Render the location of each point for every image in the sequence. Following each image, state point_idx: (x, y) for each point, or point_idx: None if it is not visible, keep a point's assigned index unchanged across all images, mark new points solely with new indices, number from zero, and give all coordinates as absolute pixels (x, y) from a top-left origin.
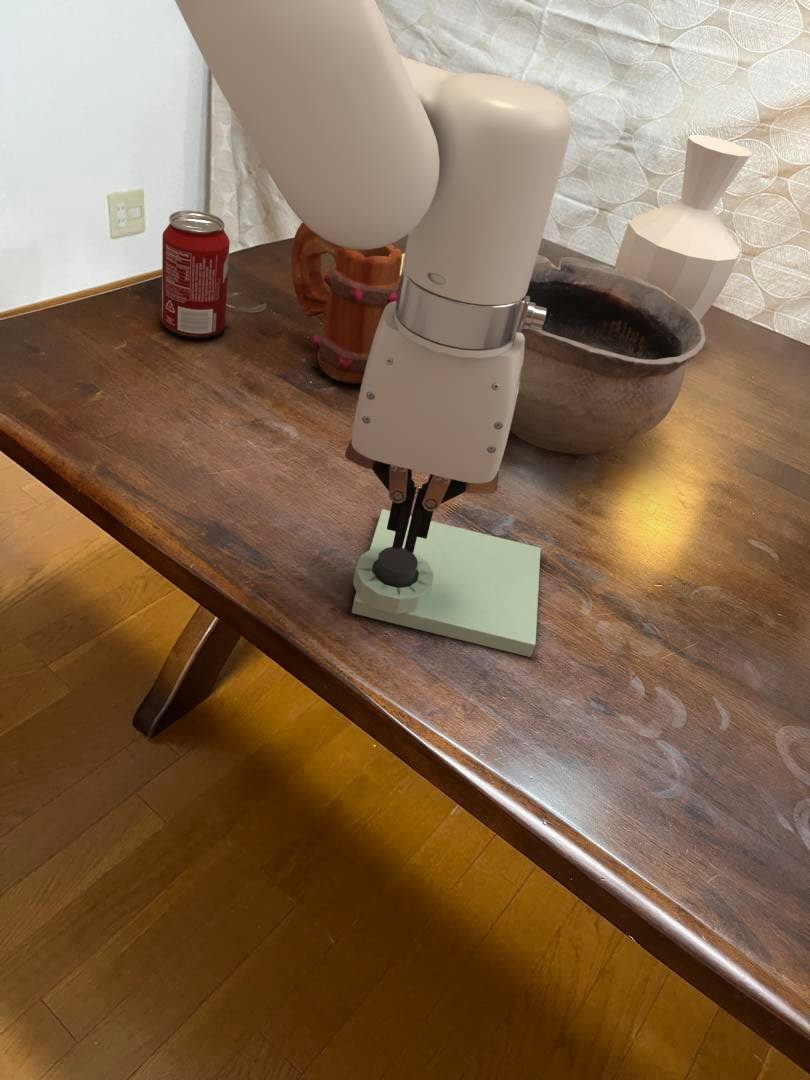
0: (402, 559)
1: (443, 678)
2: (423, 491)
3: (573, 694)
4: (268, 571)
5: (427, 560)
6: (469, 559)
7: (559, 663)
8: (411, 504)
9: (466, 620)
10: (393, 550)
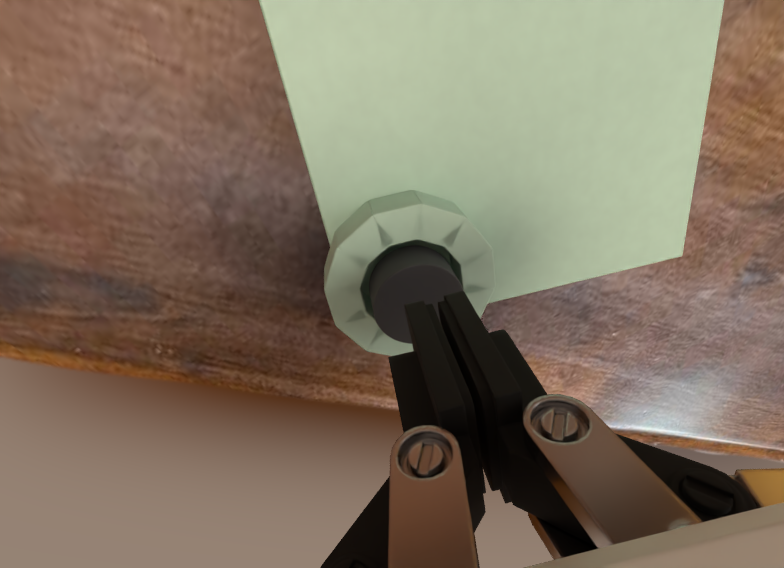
0: (428, 301)
1: (527, 349)
2: (527, 498)
3: (718, 276)
4: (166, 310)
5: (448, 144)
6: (544, 76)
7: (707, 227)
8: (482, 483)
9: (558, 269)
10: (398, 284)
